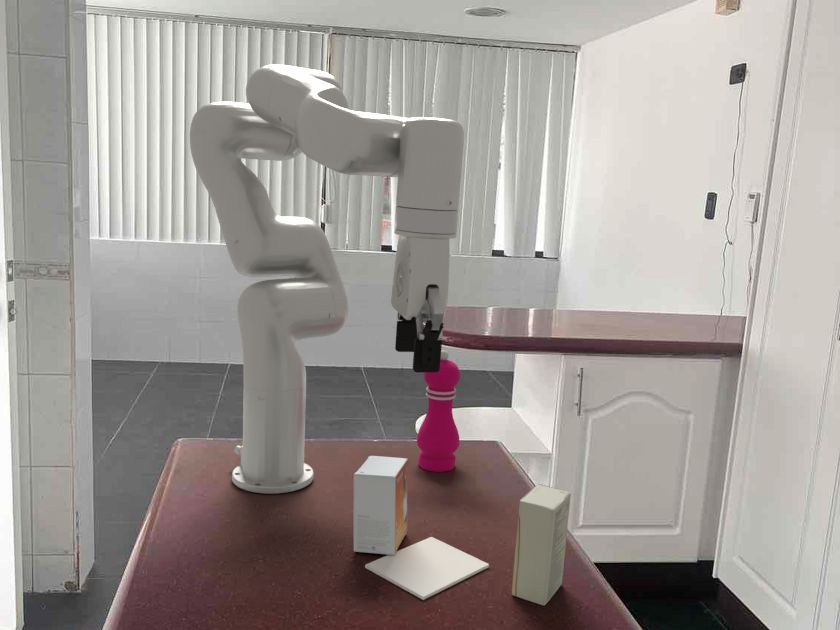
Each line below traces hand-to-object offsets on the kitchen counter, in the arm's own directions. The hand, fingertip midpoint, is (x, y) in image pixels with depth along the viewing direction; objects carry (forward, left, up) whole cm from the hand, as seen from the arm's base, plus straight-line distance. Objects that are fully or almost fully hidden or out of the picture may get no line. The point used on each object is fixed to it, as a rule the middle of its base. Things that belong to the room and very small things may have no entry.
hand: (416, 361), depth 98 cm
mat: (+5, -1, -26) cm, 26 cm away
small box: (-4, -1, -26) cm, 26 cm away
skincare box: (+17, +5, -26) cm, 31 cm away
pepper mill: (-19, +26, -26) cm, 41 cm away
